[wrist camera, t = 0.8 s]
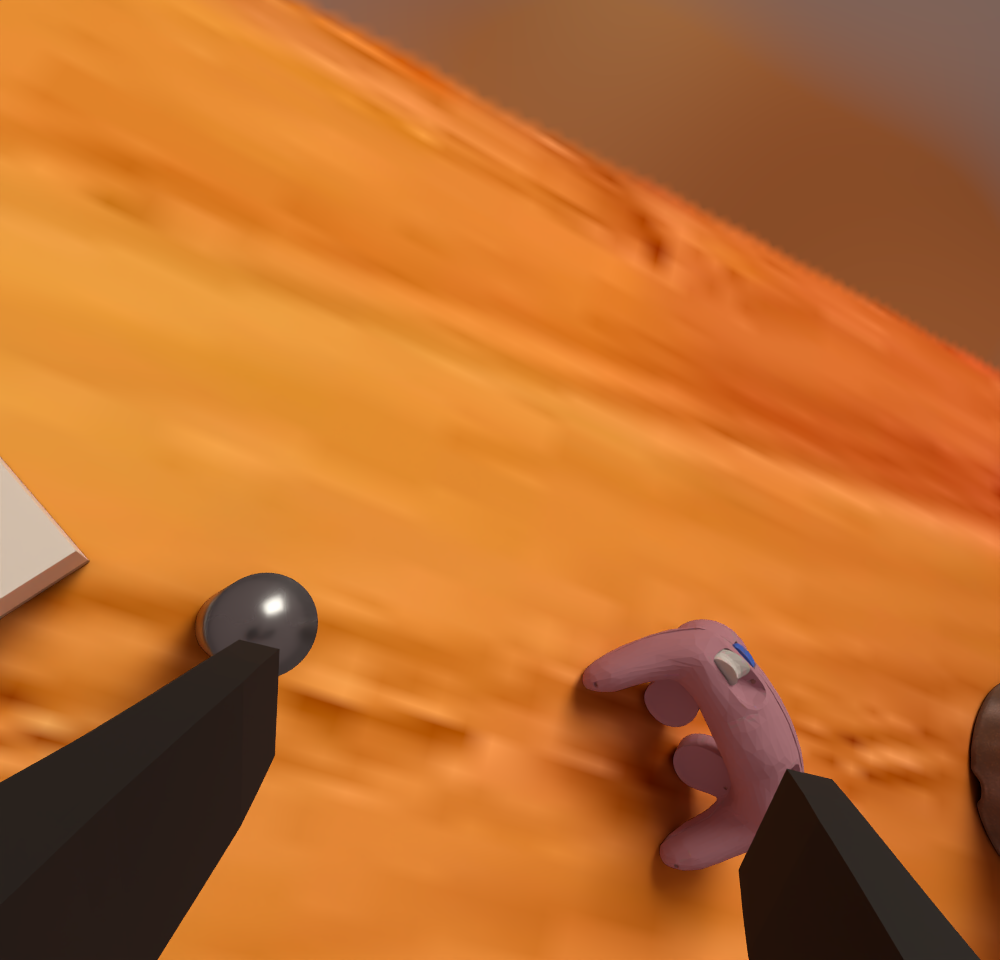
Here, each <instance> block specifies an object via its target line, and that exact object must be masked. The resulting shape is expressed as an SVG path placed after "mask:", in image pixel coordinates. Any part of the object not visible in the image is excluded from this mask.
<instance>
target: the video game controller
mask: <svg viewBox="0 0 1000 960" xmlns="http://www.w3.org/2000/svg"><path fill="white" fill-rule="evenodd" d="M582 681H583V684H584V686H585V687H586V688H587V689H590V690H593V691H598V692H615V691H618V690H622V689H625V688H628V687H632V686H635V685H638V684H642V683H646V682H651V683H650V684H649V686H648V688H647V690H646V691H645V695H644V700H645V704H646V706H647V708H648V710H649V712H650V713H651V714H652V715H653V717H654V718H655V719H656V720H658V721H659V722H661V723H662V724H664V725H667V726H671V727H681V726H684V725H686V724H688V723H689V722H691V721H692V720H693V719H694V718H695V716H696V715H697V712H698V710H699V709H700V710H701V712H702V714H703V716H704V719H705V721H706V723H707V725H708V727H709V729H710V731H711V734H712V736H713V737H712V736H709V735H705V734H691V735H689V736H686V737H685V738H683V739H682V740H681V742H680V744H679V746H678V748H677V749H676V752H675V754H674V757H673V764H674V769H675V771H676V773H677V775H678V777H679V778H680V779H681V780H682V781H683V782H684V783H685V784H687V785H688V786H690V787H692V788H694V789H697V790H700V791H703V792H706V793H709V794H711V795H713V796H716V797H717V801H716V802H715V803H714V804H713V805H712V806H711V807H710V808H709V809H707V810H706V811H704V812H703V813H701V814H699V815H697V816H696V817H694V818H692V819H690V820H688V821H687V822H685V823H683V824H682V825H681V826H679V827H678V828H677V829H676V830H674V831H673V832H672V833H670V834H669V835H668V837H667V838H666V839H665V840H664V842H663V843H662V844H661V846H660V857H661V859H662V861H663V862H664V863H665V864H666V865H667V866H670V867H672V868H675V869H679V870H697V869H703V868H706V867H709V866H712V865H715V864H718V863H720V862H723V861H725V860H728V859H730V858H733V857H735V856H738V855H741V854H743V853H746V852H747V851H748V849H749V847H750V845H751V843H752V841H753V839H754V836H755V834H756V832H757V830H758V828H759V826H760V824H761V822H762V820H763V817H764V815H765V813H766V811H767V809H768V807H769V805H770V803H771V801H772V799H773V796H774V794H775V792H776V790H777V788H778V786H779V784H780V782H781V780H782V778H783V775H784V773H785V771H786V769H790V770H794V771H799V772H803V773H804V766H803V759H802V753H801V748H800V745H799V741H798V738H797V735H796V731H795V729H794V726H793V724H792V721H791V718H790V716H789V714H788V712H787V710H786V708H785V706H784V704H783V702H782V700H781V698H780V696H779V695H778V693H777V692H776V690H775V689H774V687H773V685H772V684H771V682H770V681H769V679H768V678H767V676H766V675H765V673H764V672H763V671H762V670H761V669H760V667H759V666H758V665H757V664H756V663H755V662H754V660H753V658H752V656H751V655H750V653H749V652H748V651H747V648H746V646H745V645H744V643H743V641H742V640H741V639H740V637H739V636H738V635H737V634H736V633H735V632H734V631H733V630H731V629H730V628H728V627H727V626H725V625H723V624H721V623H719V622H716V621H712V620H702V619H701V620H693V621H689V622H687V623H685V624H683V625H681V626H680V627H679V628H678V629H671V630H667V631H663V632H660V633H656V634H652V635H649V636H647V637H644V638H641V639H639V640H636V641H633V642H631V643H628V644H626V645H623V646H621V647H619V648H617V649H615V650H613V651H611V652H609V653H607V654H605V655H604V656H602V657H600V658H599V659H597V660H596V661H594V662H593V663H592V664H591V665H589V666H588V667H587V668H586V670H585V671H584V673H583V679H582Z"/></svg>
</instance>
